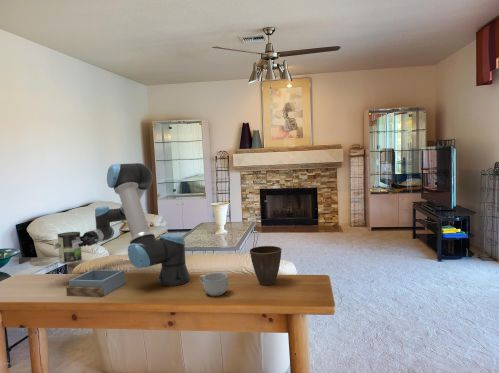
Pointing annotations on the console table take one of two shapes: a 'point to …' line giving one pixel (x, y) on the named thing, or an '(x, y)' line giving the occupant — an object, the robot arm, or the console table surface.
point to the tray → (100, 279)
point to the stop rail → (85, 291)
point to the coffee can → (69, 247)
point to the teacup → (215, 283)
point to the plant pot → (266, 263)
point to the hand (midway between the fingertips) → (63, 246)
